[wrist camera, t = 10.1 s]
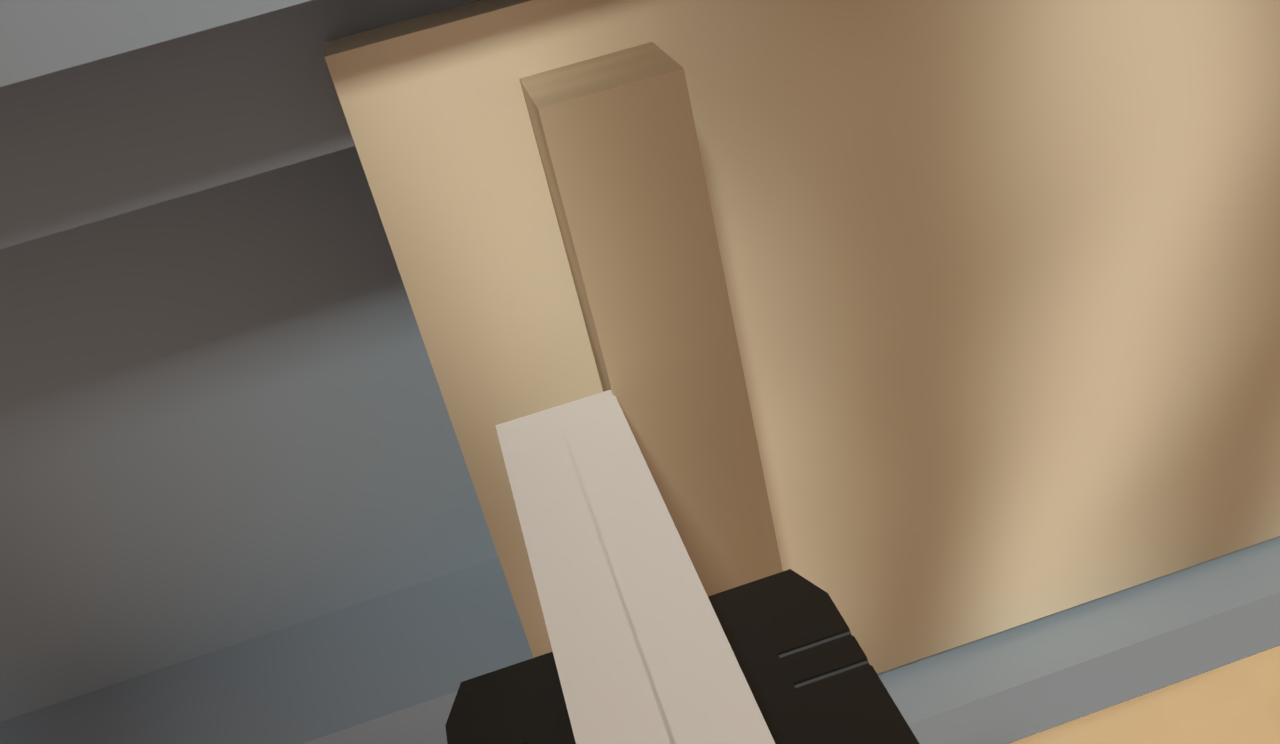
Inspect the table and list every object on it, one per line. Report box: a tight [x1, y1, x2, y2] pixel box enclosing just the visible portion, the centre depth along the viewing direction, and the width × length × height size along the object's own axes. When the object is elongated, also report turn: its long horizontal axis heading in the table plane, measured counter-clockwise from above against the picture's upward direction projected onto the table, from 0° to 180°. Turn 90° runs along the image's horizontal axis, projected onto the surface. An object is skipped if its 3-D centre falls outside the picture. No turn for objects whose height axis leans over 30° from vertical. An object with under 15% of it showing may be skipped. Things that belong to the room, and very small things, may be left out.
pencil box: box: [0, 0, 1280, 744], centre depth 17 cm, size 26×15×6 cm, turn 103°
